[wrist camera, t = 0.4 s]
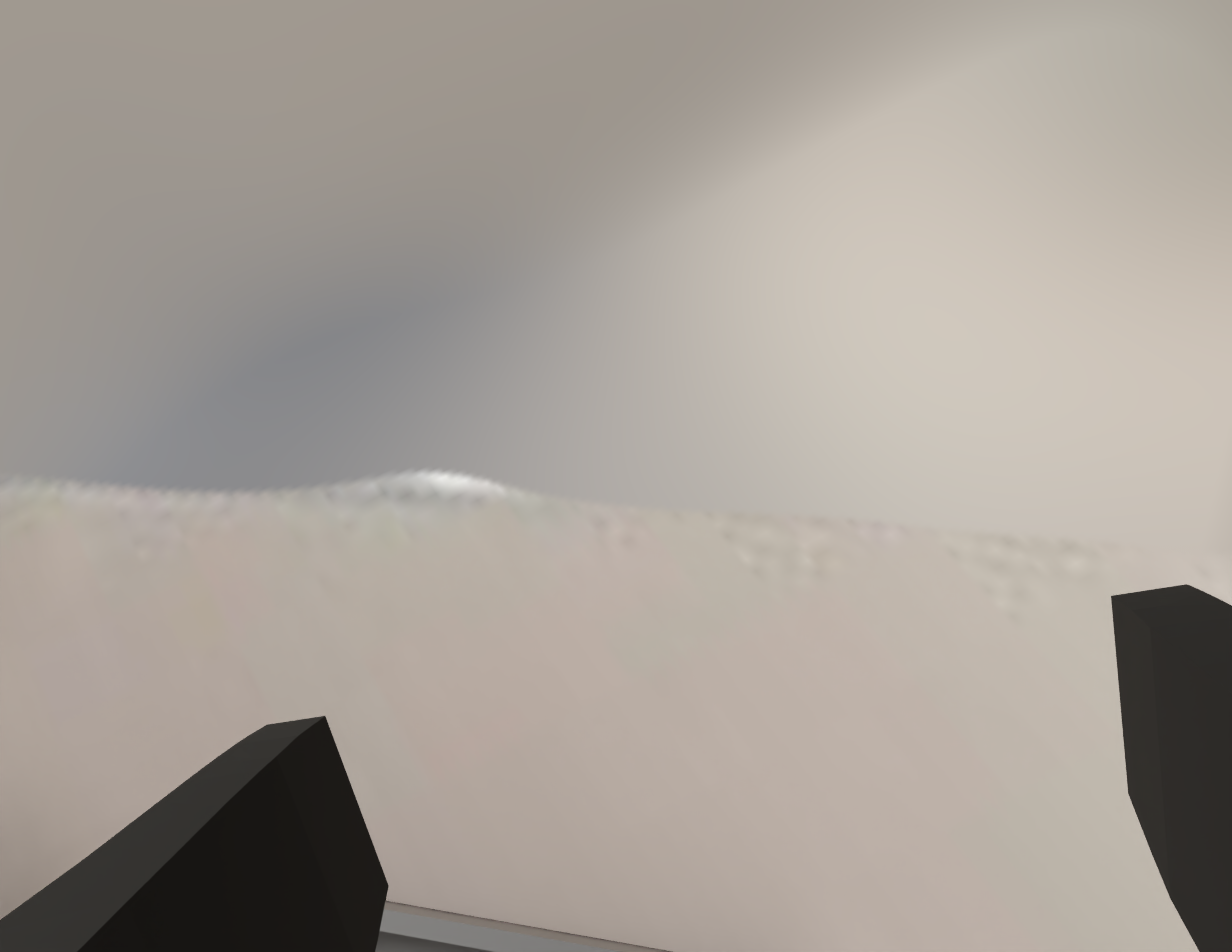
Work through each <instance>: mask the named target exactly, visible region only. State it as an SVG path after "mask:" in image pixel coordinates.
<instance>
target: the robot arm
mask: <svg viewBox="0 0 1232 952" xmlns="http://www.w3.org/2000/svg"><path fill="white" fill-rule="evenodd" d="M1111 600H1112V611H1113V622H1114V634H1115V645H1116V657H1117V668H1118V680H1119V691H1120V703H1121V714H1122V726H1123V737H1124V749H1125V760H1126V772H1127V783H1128V794H1129V796H1130V799H1131V801H1132V804H1133V806H1134V809H1135V812H1136V814H1137V817H1138V819H1139V822H1140V824H1141V827H1142V830H1143V832H1144V835H1145V837H1146V840H1147V842H1148V845H1149V847H1150V850H1151V852H1152V855H1153V857H1154V860H1155V862H1156V865H1157V867H1158V869H1159V872H1160V874H1161V877H1162V879H1163V881H1164V884H1165V886H1166V889H1167V891H1168V894H1169V896H1170V898H1171V900H1172V902H1173V904H1174V906H1175V908H1176V909H1177V911H1178V913H1179V915H1180V917H1181V919H1182V921H1183V922H1184V924H1185V926H1186V928H1187V930H1188V931H1189V933H1190V935H1191V937H1192V939H1193V941H1194V942H1195V944H1196V946H1197V948H1198V950H1199V951H1200V952H1232V606H1231V605H1229V604H1227V603H1225V602H1223V601H1221V600H1220V599H1218V598H1216V597H1213V596H1211V595H1209V594H1207V593H1205V592H1203V591H1201V590H1199V589H1196V588H1194V587H1192V586H1190V585H1180V586H1174V587H1167V588H1160V589H1154V590H1147V591H1141V592H1134V593H1128V594H1121V595H1115V596H1111ZM387 891H388V883H387V881H386V878H385V875H384V873H383V870H382V867H381V864H380V862H379V859H378V856H377V854H376V851H375V848H374V846H373V843H372V840H371V838H370V835H369V832H368V830H367V827H366V824H365V822H364V819H363V816H362V814H361V811H360V808H359V805H358V803H357V800H356V797H355V795H354V792H353V789H352V787H351V784H350V781H349V779H348V776H347V773H346V771H345V768H344V765H343V763H342V760H341V757H340V755H339V752H338V749H337V746H336V744H335V741H334V738H333V736H332V733H331V730H330V728H329V725H328V722H327V720H326V717H325V716H322V717H315V718H309V719H302V720H296V721H289V722H283V723H276V724H270V725H266V726H264V727H263V728H261V729H259V730H257V731H256V732H254V733H252V734H251V735H249V736H247V737H246V738H244V739H243V740H241V741H240V742H238V743H237V744H235V745H234V746H233V747H231V748H230V749H228V750H227V751H226V752H224V753H223V754H221V755H220V756H219V757H217V758H216V759H214V760H213V761H212V762H210V763H209V764H208V765H206V766H205V767H204V768H202V769H201V770H200V771H198V772H197V773H196V774H194V775H193V776H192V777H190V778H189V779H188V780H186V781H185V782H184V783H182V784H181V785H180V786H179V787H177V788H176V789H175V790H173V791H172V792H171V793H169V794H168V795H167V796H166V797H164V798H163V799H162V800H160V801H159V802H158V803H156V804H155V805H154V806H153V807H151V808H150V809H149V810H147V811H146V812H145V813H143V814H142V815H141V816H140V817H138V818H137V819H136V820H134V821H133V822H132V823H130V824H129V825H128V826H127V827H125V828H124V829H123V830H121V831H120V832H119V833H117V834H116V835H115V836H114V837H112V838H111V839H110V840H108V841H107V842H106V843H104V844H103V845H102V846H101V847H99V848H98V849H97V850H95V851H94V852H93V853H91V854H90V855H89V856H88V857H86V858H85V859H84V860H82V861H81V862H80V863H78V864H77V865H75V866H74V867H73V868H71V869H70V870H69V871H67V872H66V873H64V874H63V875H62V876H60V877H59V878H57V879H56V880H55V881H53V882H52V883H51V884H49V885H48V886H46V887H45V888H44V889H42V890H41V891H40V892H38V893H37V894H35V895H34V896H33V897H31V898H30V899H29V900H27V901H26V902H24V903H23V904H22V905H20V906H19V907H18V908H16V909H15V910H13V911H12V912H11V913H9V914H8V915H6V916H5V917H4V918H2V919H1V920H0V952H375V950H376V946H377V942H378V937H379V932H380V926H381V921H382V916H383V911H384V906H385V901H386V896H387Z"/></svg>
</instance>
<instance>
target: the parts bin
mask: <svg viewBox="0 0 1232 952" xmlns="http://www.w3.org/2000/svg"><path fill="white" fill-rule="evenodd" d="M375 952H671V951H666V950H660V949H654V948H649V947H643V946H637V945H632V944H626V943H620V942H615V941H609V940H604V939H598V938H592V937H587V936H581V935H575V934H570V933H564V932H558V931H553V930H547V929H541V928H536V927H530V926H525V925H519V924H513V923H508V922H502V921H496V920H491V919H485V918H479V917H474V916H468V915H463V914H457V913H451V912H446V911H440V910H434V909H429V908H423V907H417V906H412V905H406V904H400V903H395V902H389V901H385V906H384V911H383V916H382V921H381V926H380V932H379V937H378V942H377V946H376V950H375Z"/></svg>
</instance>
